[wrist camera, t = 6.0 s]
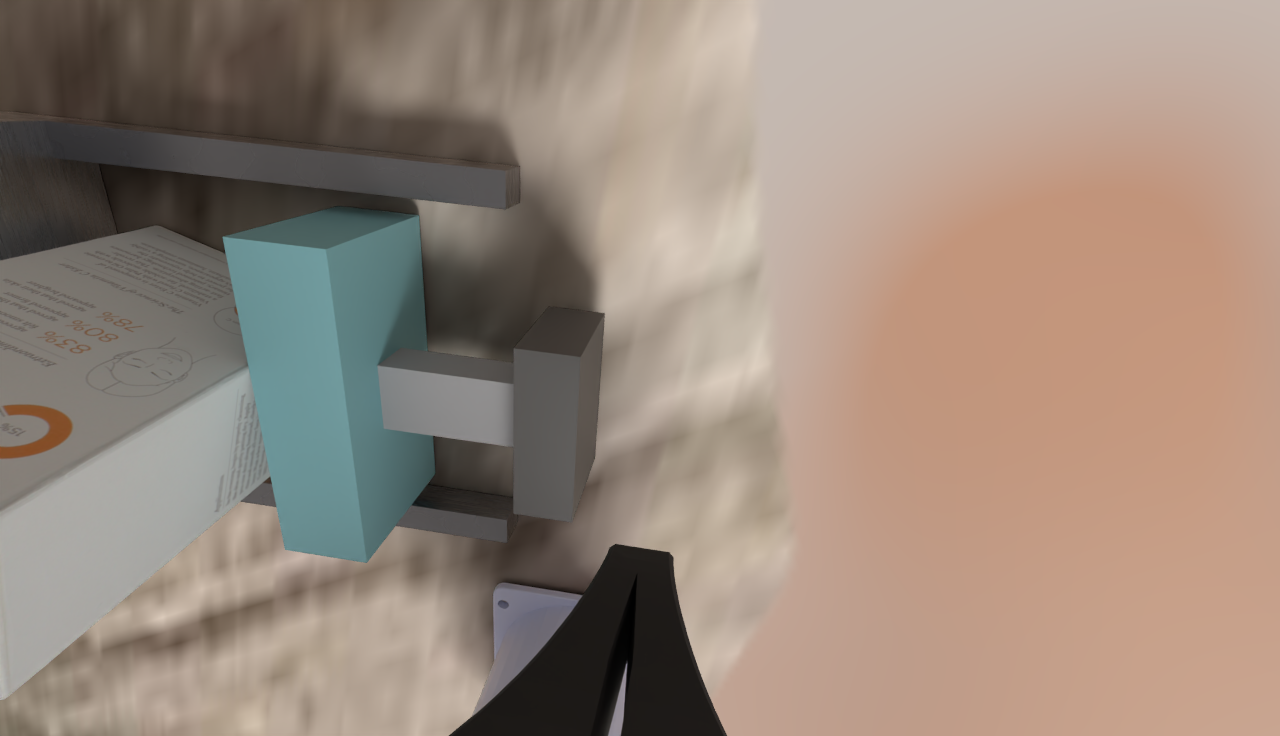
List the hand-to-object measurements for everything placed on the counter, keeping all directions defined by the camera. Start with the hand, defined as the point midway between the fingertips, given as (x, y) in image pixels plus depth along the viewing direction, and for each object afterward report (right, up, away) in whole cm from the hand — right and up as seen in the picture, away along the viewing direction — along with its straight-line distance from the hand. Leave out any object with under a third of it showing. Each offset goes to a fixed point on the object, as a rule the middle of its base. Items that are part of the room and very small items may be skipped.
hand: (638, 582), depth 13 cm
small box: (-16, +6, +11) cm, 20 cm away
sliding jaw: (-6, +5, +10) cm, 13 cm away
